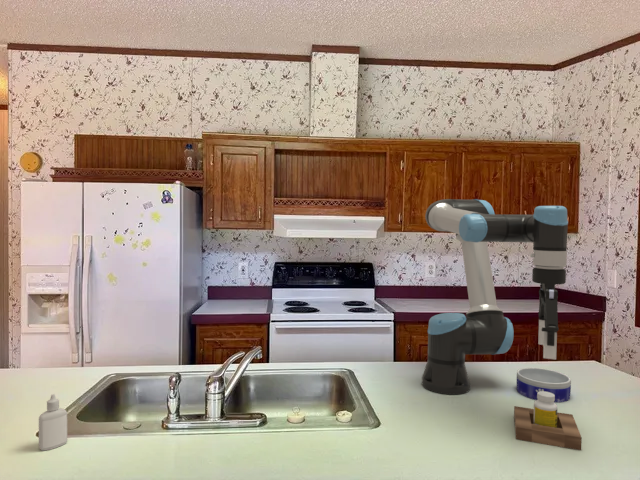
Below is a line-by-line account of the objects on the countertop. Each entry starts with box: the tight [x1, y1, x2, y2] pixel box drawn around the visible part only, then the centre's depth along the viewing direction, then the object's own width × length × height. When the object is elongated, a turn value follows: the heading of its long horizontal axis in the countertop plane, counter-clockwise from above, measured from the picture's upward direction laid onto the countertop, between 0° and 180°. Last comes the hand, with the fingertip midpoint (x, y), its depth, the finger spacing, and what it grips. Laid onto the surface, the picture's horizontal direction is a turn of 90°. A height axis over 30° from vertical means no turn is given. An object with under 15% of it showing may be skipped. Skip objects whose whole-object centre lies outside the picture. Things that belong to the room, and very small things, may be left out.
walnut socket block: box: [513, 405, 583, 451], centre depth 114 cm, size 14×14×3 cm
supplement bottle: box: [533, 391, 558, 428], centre depth 114 cm, size 5×5×10 cm
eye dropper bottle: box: [38, 393, 68, 451], centre depth 104 cm, size 4×6×12 cm
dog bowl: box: [516, 367, 572, 404], centre depth 141 cm, size 15×15×6 cm
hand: (546, 351), depth 114 cm, fingers open, 13 cm apart
